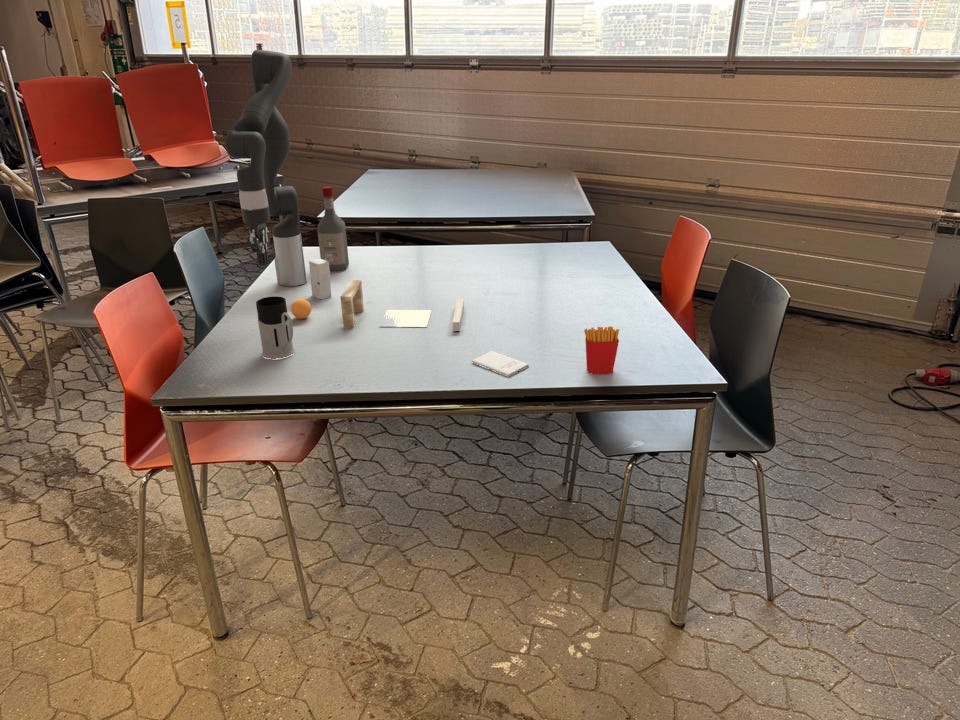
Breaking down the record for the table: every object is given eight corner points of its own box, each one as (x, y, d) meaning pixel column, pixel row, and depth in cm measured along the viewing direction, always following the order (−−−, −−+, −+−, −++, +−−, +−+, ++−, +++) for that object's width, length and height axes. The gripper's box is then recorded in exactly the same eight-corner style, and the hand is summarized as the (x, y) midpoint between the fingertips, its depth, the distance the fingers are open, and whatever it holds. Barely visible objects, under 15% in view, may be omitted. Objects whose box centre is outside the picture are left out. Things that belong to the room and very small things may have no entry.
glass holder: (285, 344, 185) (278, 293, 179) (311, 359, 176) (304, 306, 169) (256, 353, 180) (247, 301, 173) (281, 369, 170) (273, 315, 164)
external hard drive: (492, 355, 178) (528, 369, 171) (471, 365, 173) (508, 379, 165) (492, 350, 178) (529, 363, 170) (471, 360, 172) (508, 373, 165)
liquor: (345, 272, 245) (337, 189, 232) (320, 272, 245) (311, 189, 233) (350, 264, 253) (342, 184, 241) (326, 264, 254) (317, 185, 241)
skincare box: (311, 295, 222) (307, 260, 217) (323, 292, 225) (319, 257, 219) (321, 300, 218) (317, 264, 213) (333, 296, 220) (329, 261, 215)
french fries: (614, 367, 170) (617, 323, 164) (617, 374, 166) (620, 330, 161) (580, 367, 170) (583, 324, 164) (583, 374, 166) (586, 330, 161)
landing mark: (379, 327, 196) (379, 326, 196) (387, 310, 208) (387, 309, 208) (426, 327, 195) (426, 327, 195) (431, 310, 208) (431, 310, 208)
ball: (289, 321, 200) (287, 302, 198) (295, 314, 206) (293, 296, 203) (309, 321, 200) (306, 303, 198) (314, 314, 206) (312, 296, 203)
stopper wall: (452, 331, 192) (452, 322, 191) (457, 307, 210) (457, 298, 209) (459, 331, 192) (459, 322, 191) (464, 307, 210) (463, 298, 209)
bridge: (343, 327, 196) (340, 296, 192) (354, 309, 209) (351, 280, 205) (353, 327, 196) (350, 296, 191) (363, 309, 209) (361, 280, 205)
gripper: (250, 200, 195) (259, 257, 203) (232, 210, 183) (242, 271, 190) (275, 200, 195) (283, 257, 202) (259, 210, 183) (268, 271, 190)
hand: (263, 264), depth 196 cm, fingers closed
